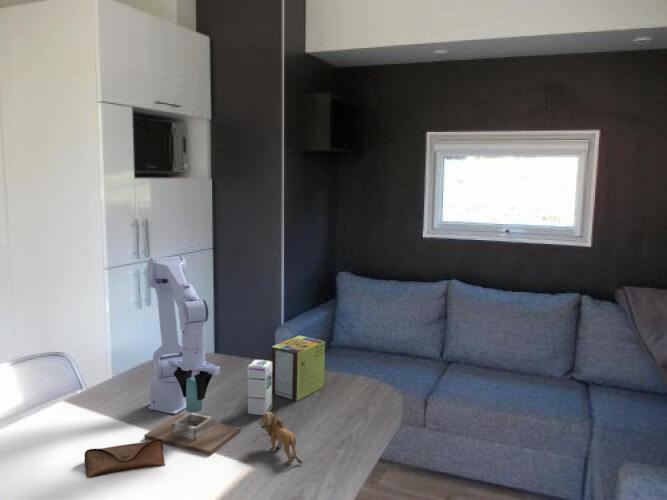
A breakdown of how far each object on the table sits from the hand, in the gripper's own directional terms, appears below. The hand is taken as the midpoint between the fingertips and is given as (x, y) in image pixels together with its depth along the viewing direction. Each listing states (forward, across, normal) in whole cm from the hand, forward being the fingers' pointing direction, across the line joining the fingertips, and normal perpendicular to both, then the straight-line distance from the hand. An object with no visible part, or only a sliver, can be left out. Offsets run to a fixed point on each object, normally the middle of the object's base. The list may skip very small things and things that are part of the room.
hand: (193, 397), depth 147 cm
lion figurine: (+11, +25, +1) cm, 27 cm away
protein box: (+11, +11, +40) cm, 43 cm away
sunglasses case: (+11, -6, -18) cm, 22 cm away
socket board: (+10, 0, 0) cm, 10 cm away
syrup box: (+11, +8, +21) cm, 25 cm away
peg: (+3, 0, 0) cm, 3 cm away
